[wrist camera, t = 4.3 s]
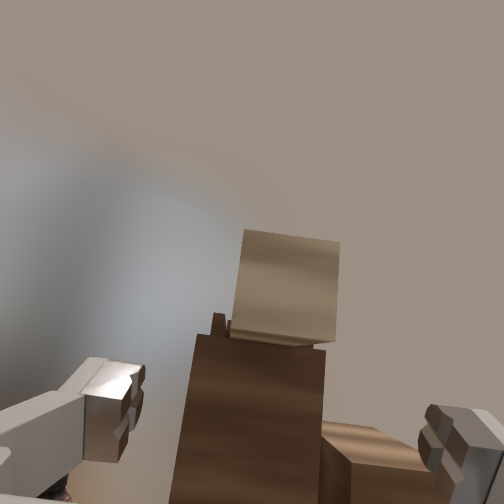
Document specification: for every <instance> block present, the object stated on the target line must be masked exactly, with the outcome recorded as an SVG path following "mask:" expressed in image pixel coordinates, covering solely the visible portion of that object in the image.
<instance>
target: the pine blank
mask: <svg viewBox="0 0 504 504" xmlns="http://www.w3.org/2000/svg"><path fill="white" fill-rule="evenodd" d="M339 249H340V242H333V241H326V240H319V239H311V238H304V237H297V236H290V235H283V234H275V233H268V232H261V231H254V230H246V229H244V235H243V242H242V249H241V256H240V264H239V270H238V277H237V285H236V292H235V299H234V306H233V313H232V320H231V327H230V338H234V339H241V340H249V341H257V342H264V343H272V344H279V345H287V346H302V345H311V344H319V343H327V342H335V333H336V312H337V293H338V270H339Z"/></svg>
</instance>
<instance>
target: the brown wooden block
mask: <svg viewBox="0 0 504 504" xmlns="http://www.w3.org/2000/svg"><path fill="white" fill-rule="evenodd" d="M230 327H231V320H228V323H227V330H226V321H225V314H221V313H214V314H213V320H212V327H211V333H210V335H203V334H197V337H196V343H195V349H194V355H193V361H192V367H191V373H190V380H189V385H188V391H187V397H186V403H185V409H184V415H183V420H182V427H181V433H180V439H179V444H178V450H177V456H176V462H175V468H174V474H173V480H172V486H171V492H170V498H169V504H317V502H318V484H319V466H320V448H321V430H322V412H323V394H324V376H325V358H326V351H325V350H317V349H313V344H311V345H302V346H287V345H279V344H272V343H264V342H257V341H249V340H241V339H234V338H230Z"/></svg>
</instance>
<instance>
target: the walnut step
mask: <svg viewBox="0 0 504 504" xmlns="http://www.w3.org/2000/svg"><path fill="white" fill-rule="evenodd" d="M435 477H436V476H435V475H434V474H433V473H432V472H431V471H429V470H428V469H427V468H426V467H425V465H424V464H423V462H422V460H421V457H420V454H419V451H418V450H416V449H414V448H412V447H410V446H408V445H406V444H404V443H402V442H400V441H398V440H396V439H394V438H392V437H390V436H388V435H386V434H384V433H383V432H381V431H378V430H377V429H375V428H373V427H366V426H359V425H351V424H343V423H335V422H327V421H322V430H321V448H320V466H319V484H318V502H317V504H447V503H446V502H445V500H444V498H443V496H442V495H441V493H440V491H439V490H438V488H437V486H436V485H435V483H434V481H435Z"/></svg>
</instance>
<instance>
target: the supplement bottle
mask: <svg viewBox="0 0 504 504" xmlns="http://www.w3.org/2000/svg"><path fill="white" fill-rule="evenodd" d="M68 474H69V473H67V474H66V475H65V476H63V477H62V478H61V479H59V480H58V481H57V482H56V483H54V484H53V485H52V486H50V487H49V488H48V489H46V490H45V491H44V492H42V493H41V494H40V495H38V496H37V497H36V498H39V499H46V500H54V501H62V502H70V503H72V502H71V496H70V494H69V493H68V492H66V489H65V486H66V485H67V479H68Z"/></svg>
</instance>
